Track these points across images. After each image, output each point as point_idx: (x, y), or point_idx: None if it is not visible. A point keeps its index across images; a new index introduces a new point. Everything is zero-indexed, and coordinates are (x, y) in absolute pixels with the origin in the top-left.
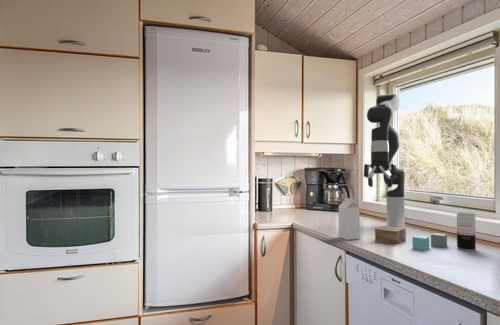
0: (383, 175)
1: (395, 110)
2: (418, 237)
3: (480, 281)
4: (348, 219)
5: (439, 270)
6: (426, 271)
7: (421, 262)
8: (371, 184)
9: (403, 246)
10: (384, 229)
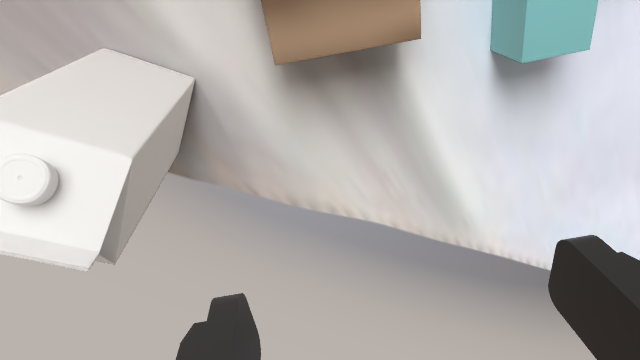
0: None
1: None
2: (552, 49)
3: None
4: (147, 197)
5: (623, 244)
6: None
7: (567, 214)
8: (249, 354)
9: (439, 39)
10: (331, 39)
